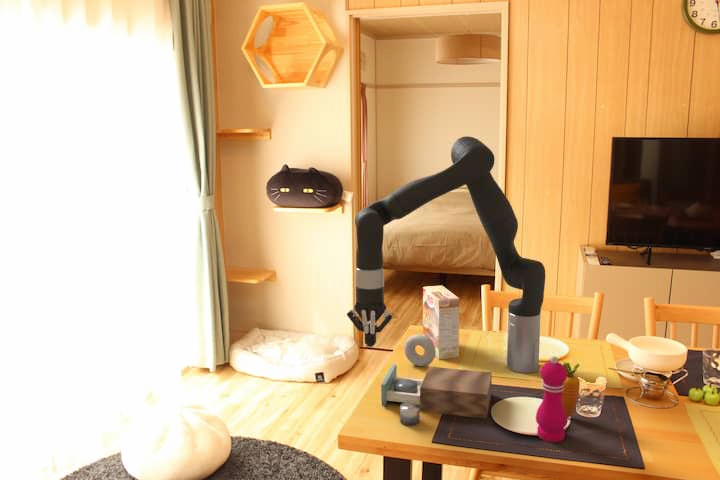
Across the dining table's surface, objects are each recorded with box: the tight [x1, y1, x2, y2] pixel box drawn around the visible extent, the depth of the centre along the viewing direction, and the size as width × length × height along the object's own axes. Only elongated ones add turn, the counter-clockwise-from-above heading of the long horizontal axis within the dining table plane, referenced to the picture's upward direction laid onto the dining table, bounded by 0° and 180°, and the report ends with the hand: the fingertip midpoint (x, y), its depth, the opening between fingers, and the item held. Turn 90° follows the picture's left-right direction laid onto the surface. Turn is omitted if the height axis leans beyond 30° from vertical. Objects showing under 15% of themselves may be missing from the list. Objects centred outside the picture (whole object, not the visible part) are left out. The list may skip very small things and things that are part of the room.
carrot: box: [561, 361, 581, 418], centre depth 161 cm, size 5×5×15 cm
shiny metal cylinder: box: [399, 402, 420, 427], centre depth 162 cm, size 5×5×4 cm
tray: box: [380, 363, 424, 407], centre depth 174 cm, size 17×14×6 cm
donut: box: [403, 334, 436, 367], centre depth 196 cm, size 10×3×10 cm, turn 61°
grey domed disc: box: [394, 378, 417, 394], centre depth 176 cm, size 6×6×2 cm
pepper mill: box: [535, 356, 569, 443], centre depth 153 cm, size 7×7×20 cm
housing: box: [419, 366, 493, 419], centre depth 172 cm, size 17×14×6 cm
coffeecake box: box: [422, 284, 460, 360], centre depth 207 cm, size 15×7×20 cm, turn 14°
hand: (370, 345), depth 176 cm, fingers closed
